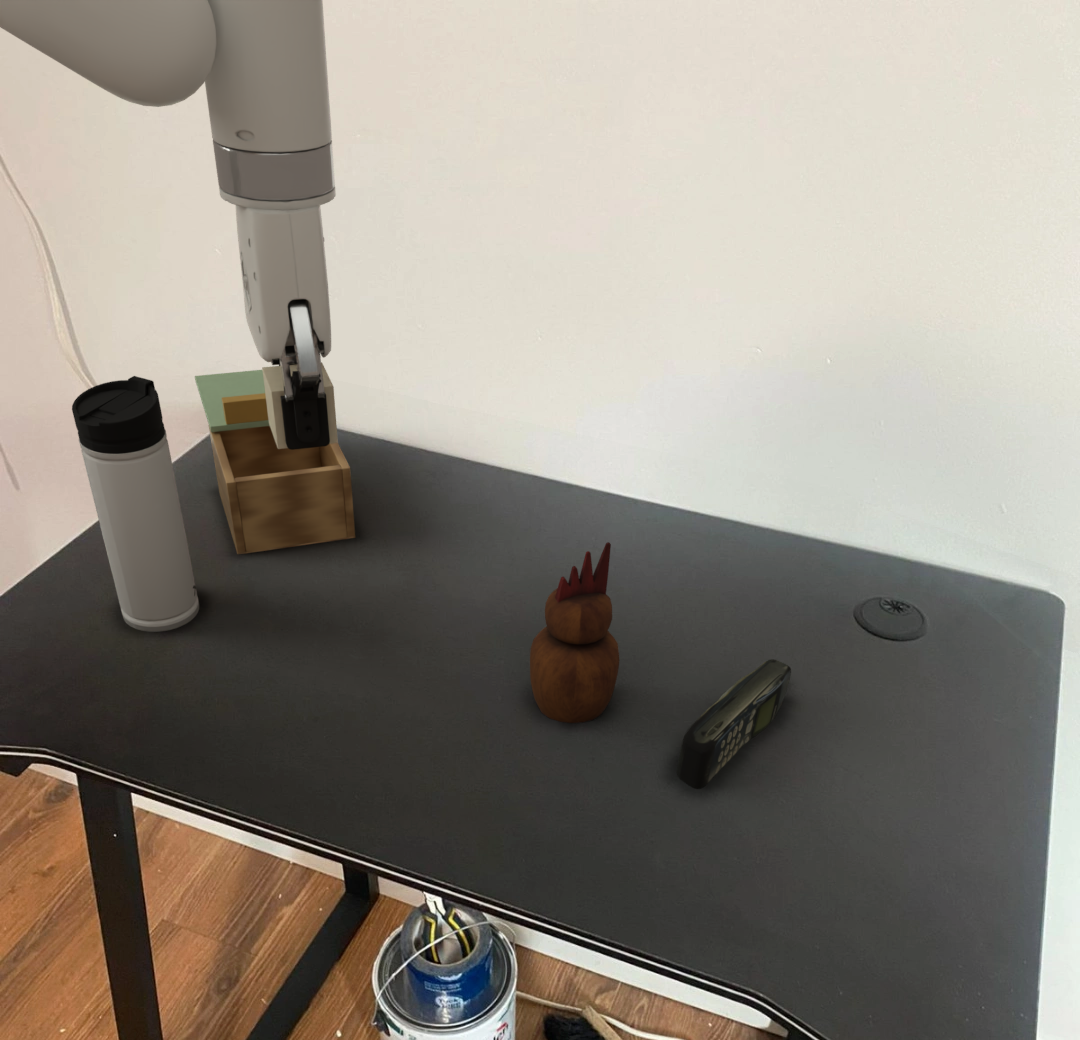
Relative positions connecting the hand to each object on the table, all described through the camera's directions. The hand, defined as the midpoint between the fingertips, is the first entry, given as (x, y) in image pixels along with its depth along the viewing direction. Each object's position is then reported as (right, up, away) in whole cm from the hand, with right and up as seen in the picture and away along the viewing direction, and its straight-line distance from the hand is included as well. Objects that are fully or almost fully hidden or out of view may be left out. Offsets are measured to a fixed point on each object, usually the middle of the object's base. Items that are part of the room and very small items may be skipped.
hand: (301, 428), depth 82 cm
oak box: (-7, -3, +23) cm, 24 cm away
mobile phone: (+33, -24, +1) cm, 41 cm away
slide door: (-10, +9, +24) cm, 28 cm away
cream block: (0, 0, 0) cm, 0 cm away
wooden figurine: (+21, -22, +3) cm, 30 cm away
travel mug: (-14, -13, +10) cm, 22 cm away
